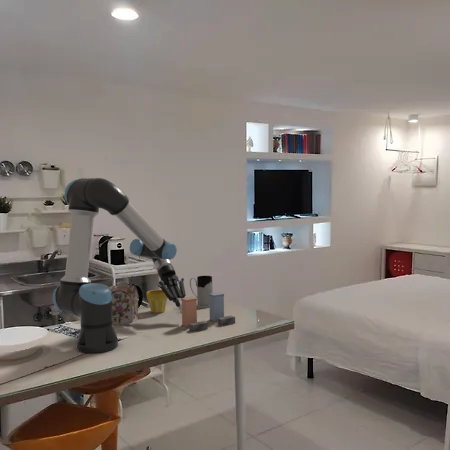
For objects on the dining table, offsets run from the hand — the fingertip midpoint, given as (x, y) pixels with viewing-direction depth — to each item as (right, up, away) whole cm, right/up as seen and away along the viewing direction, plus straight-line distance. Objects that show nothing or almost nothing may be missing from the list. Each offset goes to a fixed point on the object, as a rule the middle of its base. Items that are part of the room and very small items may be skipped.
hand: (183, 312), depth 206 cm
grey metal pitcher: (+6, -3, +36) cm, 37 cm away
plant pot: (-15, -5, +26) cm, 30 cm away
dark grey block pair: (+10, -6, -1) cm, 12 cm away
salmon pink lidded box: (+3, -5, -3) cm, 7 cm away
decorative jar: (-28, -6, +8) cm, 30 cm away
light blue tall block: (+14, -4, +4) cm, 16 cm away
